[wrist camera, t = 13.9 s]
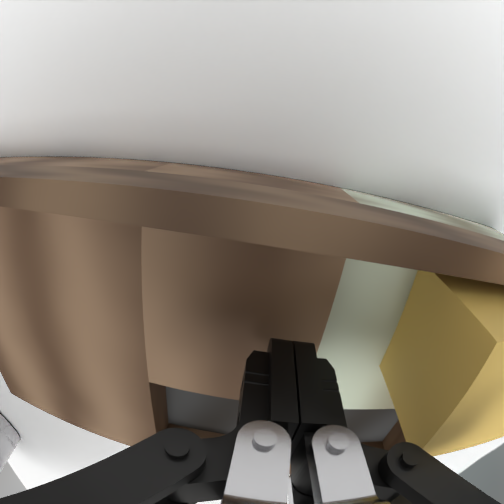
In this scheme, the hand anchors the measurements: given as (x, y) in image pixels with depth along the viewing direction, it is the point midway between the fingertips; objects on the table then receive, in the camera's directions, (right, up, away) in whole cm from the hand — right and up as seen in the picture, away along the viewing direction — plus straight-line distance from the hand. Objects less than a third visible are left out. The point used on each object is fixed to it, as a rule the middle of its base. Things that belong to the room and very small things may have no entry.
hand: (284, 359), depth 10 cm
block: (+7, +1, 0) cm, 7 cm away
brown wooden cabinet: (-4, -1, +5) cm, 7 cm away
